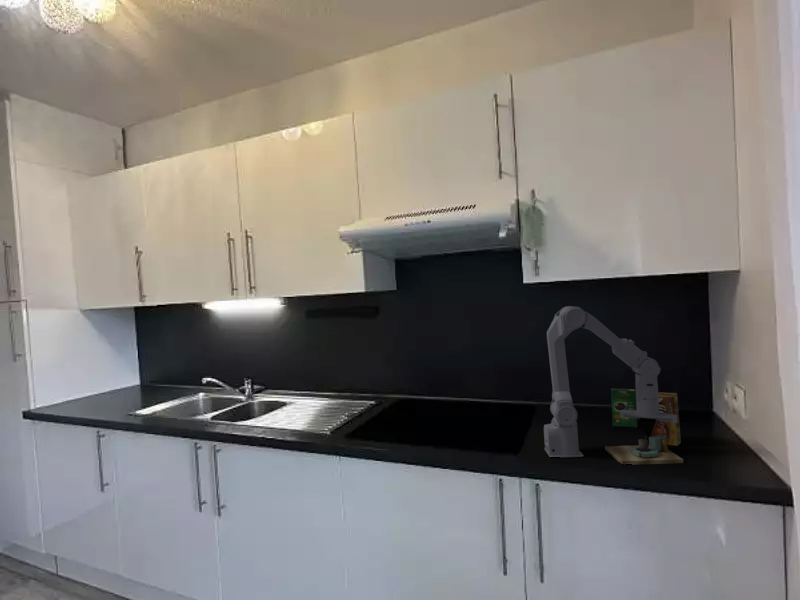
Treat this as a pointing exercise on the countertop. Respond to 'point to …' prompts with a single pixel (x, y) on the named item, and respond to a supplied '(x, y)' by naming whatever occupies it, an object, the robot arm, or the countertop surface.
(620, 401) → the coffee box
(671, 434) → the candy box
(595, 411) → the countertop surface
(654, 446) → the teal curved piece
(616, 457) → the board
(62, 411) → the countertop surface
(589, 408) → the countertop surface
